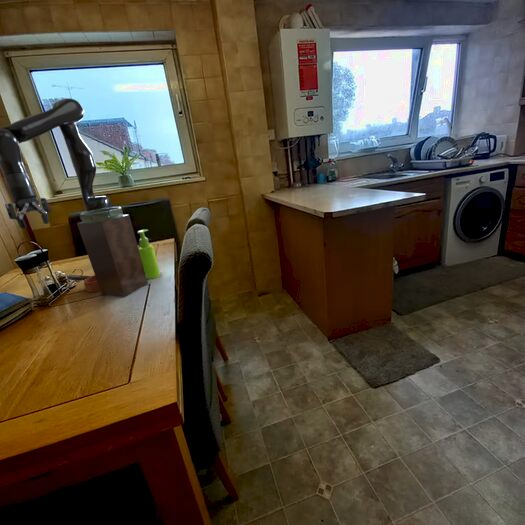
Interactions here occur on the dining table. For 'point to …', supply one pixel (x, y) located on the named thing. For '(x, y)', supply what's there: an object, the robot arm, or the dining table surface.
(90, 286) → the brown handled piece
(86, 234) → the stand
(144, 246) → the soap dispenser
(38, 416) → the dining table surface
